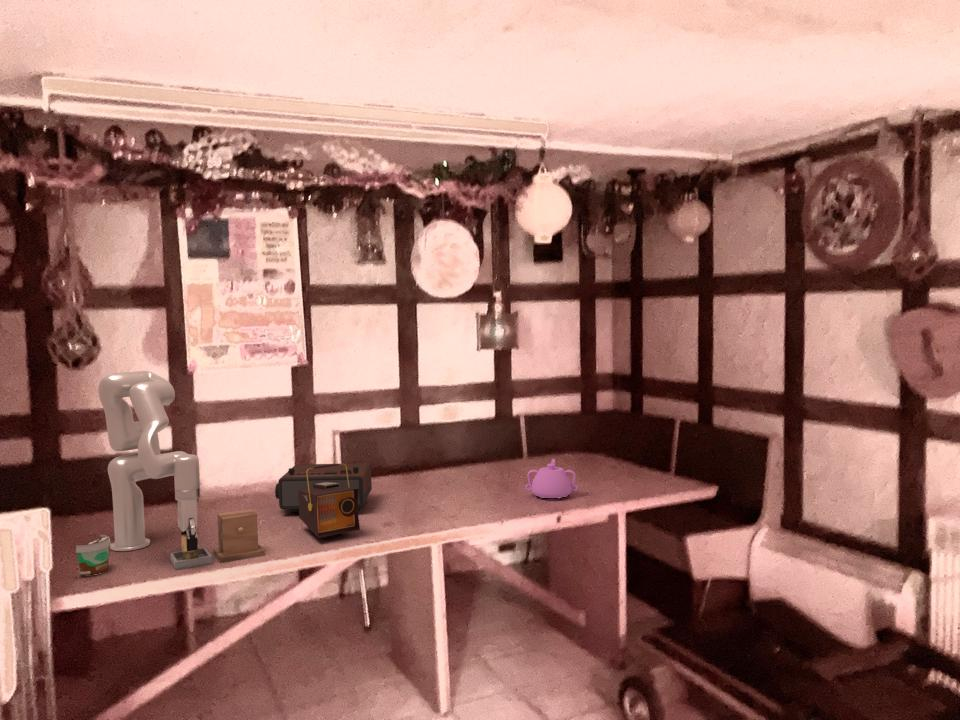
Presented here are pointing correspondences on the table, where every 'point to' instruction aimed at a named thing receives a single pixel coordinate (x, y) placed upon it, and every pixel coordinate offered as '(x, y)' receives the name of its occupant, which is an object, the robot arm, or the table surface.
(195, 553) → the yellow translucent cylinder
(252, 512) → the mounted unit
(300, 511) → the vintage portable radio
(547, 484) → the purple lidded pot
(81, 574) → the food container
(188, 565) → the tray
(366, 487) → the radio receiver
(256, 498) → the table surface
